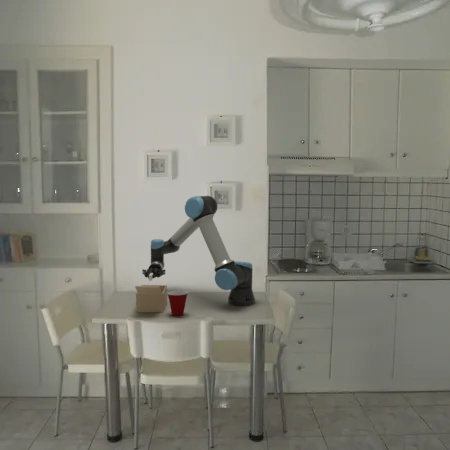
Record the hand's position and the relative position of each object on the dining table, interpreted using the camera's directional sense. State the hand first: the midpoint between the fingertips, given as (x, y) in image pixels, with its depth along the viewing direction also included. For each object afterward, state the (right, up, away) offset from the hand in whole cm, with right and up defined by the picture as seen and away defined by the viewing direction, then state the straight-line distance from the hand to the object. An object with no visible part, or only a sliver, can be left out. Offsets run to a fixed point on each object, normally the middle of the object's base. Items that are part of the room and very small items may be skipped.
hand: (150, 278), depth 241 cm
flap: (0, -7, -1) cm, 7 cm away
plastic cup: (+14, -18, -4) cm, 24 cm away
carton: (-1, -17, +9) cm, 19 cm away
